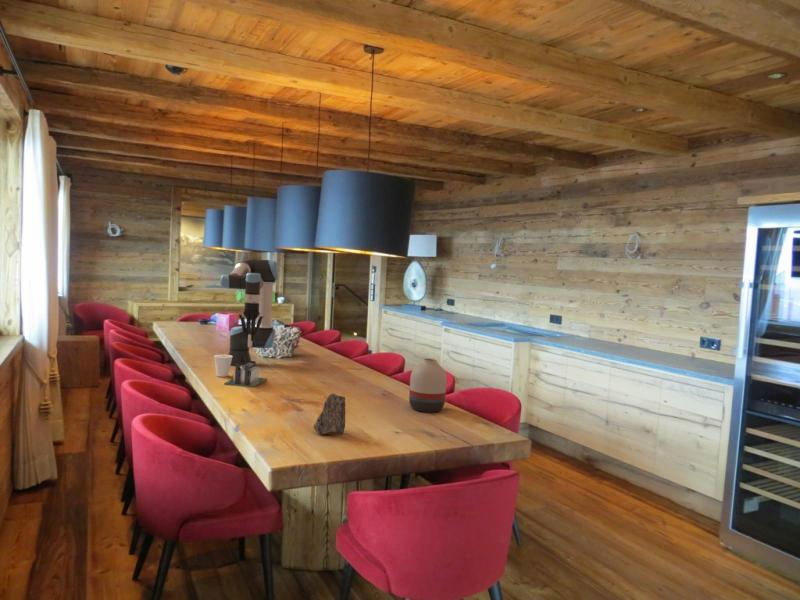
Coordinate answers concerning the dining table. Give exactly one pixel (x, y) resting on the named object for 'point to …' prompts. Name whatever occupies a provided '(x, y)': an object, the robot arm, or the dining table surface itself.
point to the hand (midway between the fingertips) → (249, 346)
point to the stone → (331, 416)
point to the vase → (427, 386)
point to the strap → (245, 365)
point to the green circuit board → (246, 376)
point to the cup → (222, 365)
